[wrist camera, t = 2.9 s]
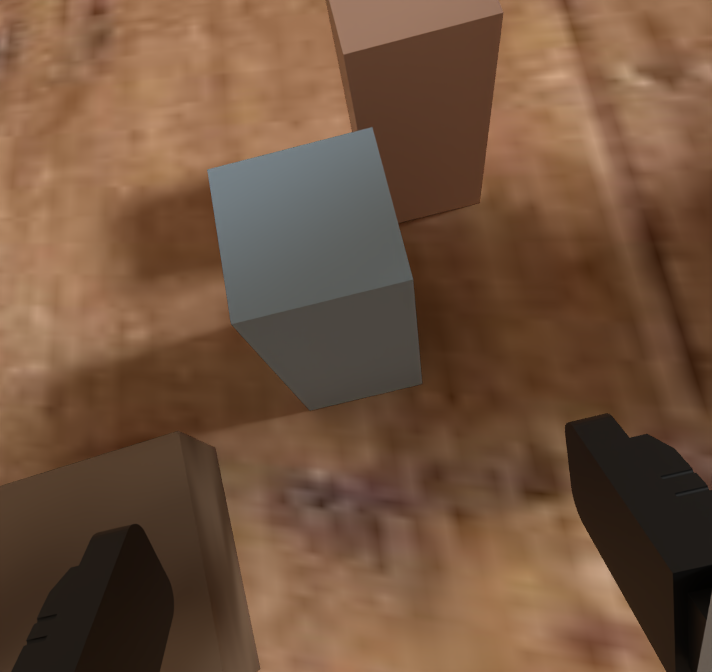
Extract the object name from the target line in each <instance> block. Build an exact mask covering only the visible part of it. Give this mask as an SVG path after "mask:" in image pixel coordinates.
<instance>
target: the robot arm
mask: <svg viewBox="0 0 712 672" xmlns="http://www.w3.org/2000/svg"><path fill="white" fill-rule="evenodd" d="M565 436H566V445H567V453H568V462H569V471H570V480H571V488H572V494H573V498H574V502H575V505H576V508H577V511H578V514H579V516H580V518H581V521H582V523H583V525H584V526H585V528H586V530H587V532H588V533H589V535H590V537H591V539H592V541H593V542H594V544H595V546H596V548H597V549H598V551H599V553H600V555H601V556H602V558H603V560H604V562H605V564H606V565H607V567H608V569H609V571H610V572H611V574H612V576H613V578H614V580H615V581H616V583H617V585H618V587H619V588H620V590H621V592H622V594H623V595H624V597H625V599H626V601H627V603H628V604H629V606H630V608H631V610H632V611H633V613H634V615H635V617H636V618H637V620H638V622H639V624H640V626H641V627H642V629H643V631H644V633H645V634H646V636H647V638H648V640H649V642H650V643H651V645H652V647H653V649H654V650H655V652H656V654H657V656H658V657H659V659H660V661H661V663H662V665H663V666H664V668H665V670H666V672H712V490H709V489H708V486H707V484H706V483H705V482H704V481H703V480H702V479H701V478H700V477H699V476H698V474H697V473H694V472H693V470H692V468H691V467H690V465H689V464H688V463H687V462H686V461H685V460H684V459H683V458H682V457H681V455H680V454H679V453H678V452H677V451H676V450H675V449H674V448H672V447H671V446H669V445H667V444H665V443H663V442H661V441H659V440H658V439H656V438H654V437H652V436H650V435H648V434H644V435H640V436H636V437H631V438H629V437H628V435H627V434H626V433H625V432H624V430H623V429H622V428H621V427H620V425H619V424H618V423H617V422H616V420H615V419H614V418H613V417H612V416H611V415H610V414H608V413H607V414H602V415H598V416H593V417H589V418H585V419H581V420H577V421H572V422H568V423H566V425H565ZM173 614H174V596H173V590H172V586H171V583H170V581H169V578H168V576H167V574H166V572H165V570H164V569H163V567H162V565H161V563H160V561H159V559H158V557H157V555H156V553H155V551H154V549H153V547H152V545H151V543H150V541H149V539H148V537H147V535H146V533H145V531H144V530H143V528H142V527H141V526H140V525H138V524H131V525H127V526H123V527H118V528H114V529H110V530H106V531H101V532H98V533H95V534H94V535H93V536H92V538H91V540H90V542H89V544H88V546H87V548H86V551H85V553H84V555H83V557H82V560H81V562H80V564H79V566H75V567H71V568H70V569H69V570H68V571H67V572H66V573H65V575H64V576H63V577H62V578H61V579H60V580H59V582H58V583H57V584H56V585H55V586H54V587H53V589H52V590H51V591H50V592H49V594H48V596H47V598H46V600H45V602H44V604H43V606H42V608H41V610H40V612H39V615H38V617H37V623H35V624H34V625H33V627H32V629H31V631H30V633H29V635H28V638H27V640H26V641H27V645H25V646H23V648H22V650H21V652H20V654H19V656H18V658H17V660H16V663H15V665H14V667H13V669H12V671H11V672H160V669H161V665H162V661H163V656H164V652H165V648H166V644H167V640H168V636H169V632H170V628H171V623H172V619H173Z"/></svg>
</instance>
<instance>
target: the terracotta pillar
mask: <svg viewBox="0 0 712 672" xmlns="http://www.w3.org/2000/svg"><path fill="white" fill-rule="evenodd" d="M326 5H327V10H328V15H329V20H330V25H331V30H332V35H333V40H334V44H335V49H336V54H337V59H338V64H339V69H340V74H341V79H342V84H343V89H344V94H345V99H346V104H347V109H348V114H349V119H350V124H351V129H352V132H355V131H359V130H363V129H367V128H371V127H372V128H373V132H374V135H375V139H376V143H377V146H378V150H379V154H380V158H381V161H382V165H383V169H384V173H385V176H386V180H387V184H388V188H389V191H390V195H391V199H392V202H393V206H394V210H395V214H396V217H397V221H398V223H401V222H405V221H409V220H413V219H417V218H421V217H425V216H429V215H433V214H437V213H441V212H445V211H449V210H453V209H457V208H461V207H465V206H469V205H473V204H477V203H480V196H481V188H482V180H483V172H484V164H485V156H486V148H487V140H488V132H489V124H490V116H491V108H492V100H493V92H494V84H495V76H496V68H497V60H498V52H499V44H500V36H501V28H502V20H503V10H502V8H501V5H500V3H499V0H326Z"/></svg>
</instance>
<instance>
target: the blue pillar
mask: <svg viewBox="0 0 712 672" xmlns="http://www.w3.org/2000/svg"><path fill="white" fill-rule="evenodd" d="M207 171H208V177H209V184H210V190H211V197H212V203H213V210H214V216H215V223H216V229H217V236H218V242H219V249H220V256H221V262H222V269H223V275H224V282H225V288H226V295H227V301H228V308H229V314H230V321H231V325H232V326H233V327H234V328H235V329H236V330H237V331H238V332H239V334H240V335H241V336H242V337H243V338H244V339H245V340H246V341H247V342H248V343H249V345H250V346H251V347H252V348H253V349H254V350H255V351H256V352H257V353H258V354H259V356H260V357H261V358H262V359H263V360H264V361H265V362H266V363H267V364H268V365H269V366H270V368H271V369H272V370H273V371H274V372H275V373H276V374H277V375H278V376H279V377H280V379H281V380H282V381H283V382H284V383H285V384H286V385H287V386H288V387H289V388H290V389H291V391H292V392H293V393H294V394H295V395H296V396H297V397H298V398H299V399H300V400H301V402H302V403H303V404H304V405H305V406H306V407H307V408H308V409H309V410H310V411H311V410H315V409H319V408H324V407H328V406H332V405H336V404H340V403H345V402H349V401H353V400H357V399H361V398H366V397H370V396H374V395H378V394H382V393H387V392H391V391H395V390H399V389H403V388H408V387H412V386H416V385H420V384H422V375H421V363H420V352H419V340H418V329H417V318H416V306H415V295H414V283H413V277H412V273H411V270H410V266H409V262H408V258H407V255H406V251H405V247H404V243H403V240H402V236H401V232H400V229H399V225H398V221H397V217H396V214H395V210H394V206H393V202H392V199H391V195H390V191H389V188H388V184H387V180H386V176H385V173H384V169H383V165H382V161H381V158H380V154H379V150H378V146H377V143H376V139H375V135H374V132H373V128H372V127H371V128H367V129H363V130H359V131H355V132H352V133H348V134H344V135H340V136H336V137H332V138H328V139H324V140H320V141H317V142H313V143H309V144H305V145H301V146H297V147H293V148H289V149H286V150H282V151H278V152H274V153H270V154H266V155H262V156H258V157H255V158H251V159H247V160H243V161H239V162H235V163H231V164H227V165H223V166H220V167H216V168H212V169H208V170H207Z"/></svg>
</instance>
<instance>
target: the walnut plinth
mask: <svg viewBox="0 0 712 672" xmlns="http://www.w3.org/2000/svg"><path fill="white" fill-rule="evenodd" d="M131 524H138V525H140V526H141V527H142V528H143V530H144V531H145V533H146V535H147V537H148V539H149V541H150V543H151V545H152V547H153V549H154V551H155V553H156V555H157V557H158V559H159V561H160V563H161V565H162V567H163V569H164V570H165V572H166V574H167V576H168V578H169V581H170V583H171V586H172V590H173V596H174V614H173V619H172V623H171V628H170V632H169V636H168V640H167V644H166V648H165V652H164V656H163V661H162V665H161V669H160V672H257V671H258V670H260V665H259V660H258V655H257V650H256V645H255V640H254V635H253V630H252V625H251V621H250V616H249V611H248V606H247V601H246V596H245V591H244V586H243V581H242V576H241V572H240V567H239V562H238V557H237V552H236V547H235V542H234V537H233V532H232V528H231V523H230V518H229V513H228V508H227V503H226V498H225V493H224V488H223V483H222V479H221V474H220V469H219V464H218V459H217V454H216V449H215V447H213V446H210V445H208V444H206V443H204V442H202V441H199V440H197V439H195V438H193V437H191V436H189V435H186V434H184V433H182V432H180V431H177V432H173V433H170V434H167V435H164V436H160V437H157V438H154V439H151V440H148V441H144V442H141V443H138V444H135V445H131V446H128V447H125V448H122V449H119V450H115V451H112V452H109V453H106V454H102V455H99V456H96V457H93V458H89V459H86V460H83V461H80V462H77V463H73V464H70V465H67V466H64V467H60V468H57V469H54V470H51V471H48V472H44V473H41V474H38V475H35V476H31V477H28V478H25V479H22V480H19V481H15V482H12V483H9V484H6V485H2V486H0V672H11V671H12V669H13V667H14V665H15V663H16V660H17V658H18V656H19V654H20V652H21V650H22V648H23V646H25V645H27V641H26V640H27V638H28V635H29V633H30V631H31V629H32V627H33V625H34V624H35V623H37V617H38V615H39V612H40V610H41V608H42V606H43V604H44V602H45V600H46V598H47V596H48V594H49V592H50V591H51V590H52V589H53V587H54V586H55V585H56V584H57V583H58V582H59V580H60V579H61V578H62V577H63V576H64V575H65V573H66V572H67V571H68V570H69V569H70V568H71V567H75V566H79V564H80V562H81V560H82V557H83V555H84V553H85V551H86V548H87V546H88V544H89V542H90V540H91V538H92V536H93V535H94V534H95V533H98V532H101V531H106V530H110V529H114V528H118V527H123V526H127V525H131Z"/></svg>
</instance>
